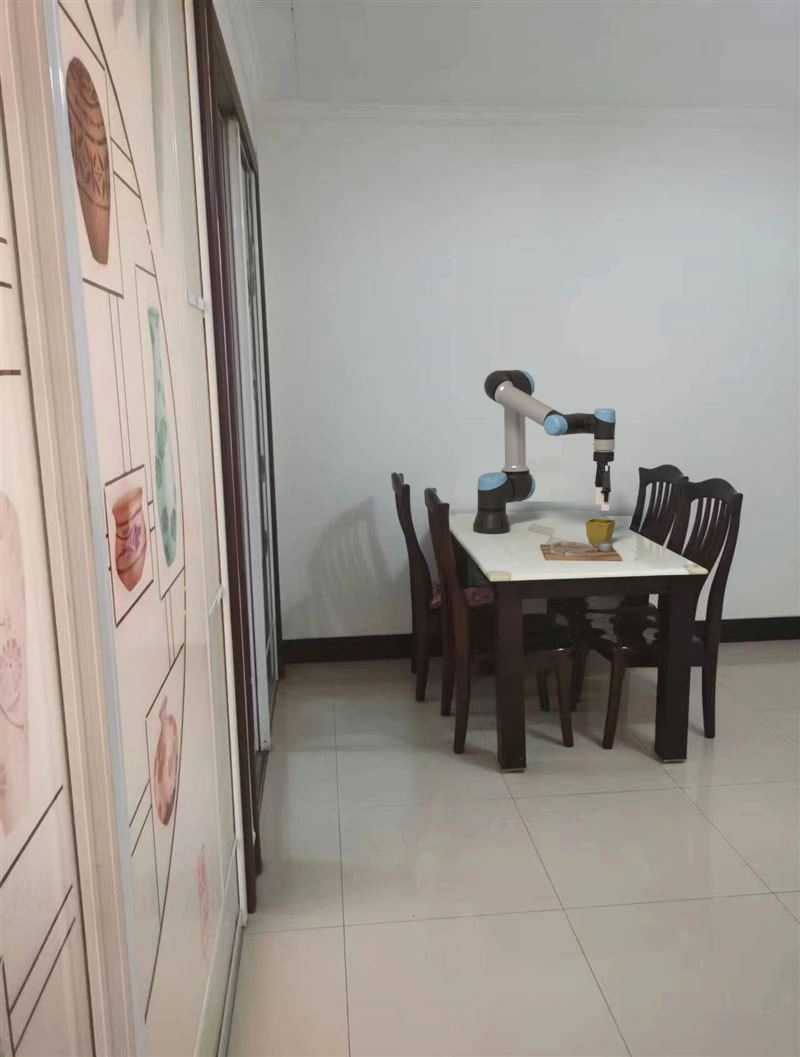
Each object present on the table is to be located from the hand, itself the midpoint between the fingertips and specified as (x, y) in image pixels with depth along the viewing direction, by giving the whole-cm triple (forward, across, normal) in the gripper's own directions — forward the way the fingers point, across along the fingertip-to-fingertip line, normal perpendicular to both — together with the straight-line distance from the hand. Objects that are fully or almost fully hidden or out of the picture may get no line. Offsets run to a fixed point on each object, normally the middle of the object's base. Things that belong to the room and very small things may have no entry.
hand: (601, 507), depth 298 cm
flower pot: (+14, 0, 0) cm, 14 cm away
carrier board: (+14, +17, -10) cm, 24 cm away
